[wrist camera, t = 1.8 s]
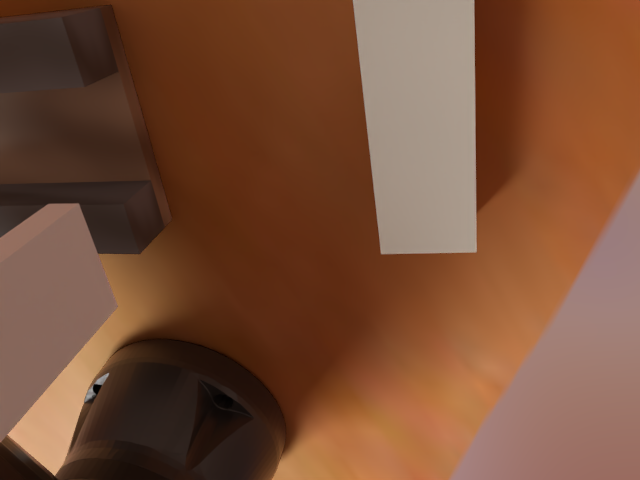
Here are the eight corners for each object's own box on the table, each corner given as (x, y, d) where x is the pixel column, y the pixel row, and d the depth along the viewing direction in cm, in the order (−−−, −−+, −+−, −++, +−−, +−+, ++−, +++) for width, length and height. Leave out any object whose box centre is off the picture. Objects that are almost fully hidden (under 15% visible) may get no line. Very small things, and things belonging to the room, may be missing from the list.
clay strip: (473, 212, 28) (476, 252, 25) (389, 216, 29) (380, 254, 26) (469, -154, 21) (472, -169, 17) (354, -131, 22) (337, -140, 18)
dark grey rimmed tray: (172, 219, 32) (140, 254, 29) (-19, 220, 35) (-67, 251, 32) (111, 4, 26) (61, 17, 23) (-111, 29, 30) (-182, 43, 26)
